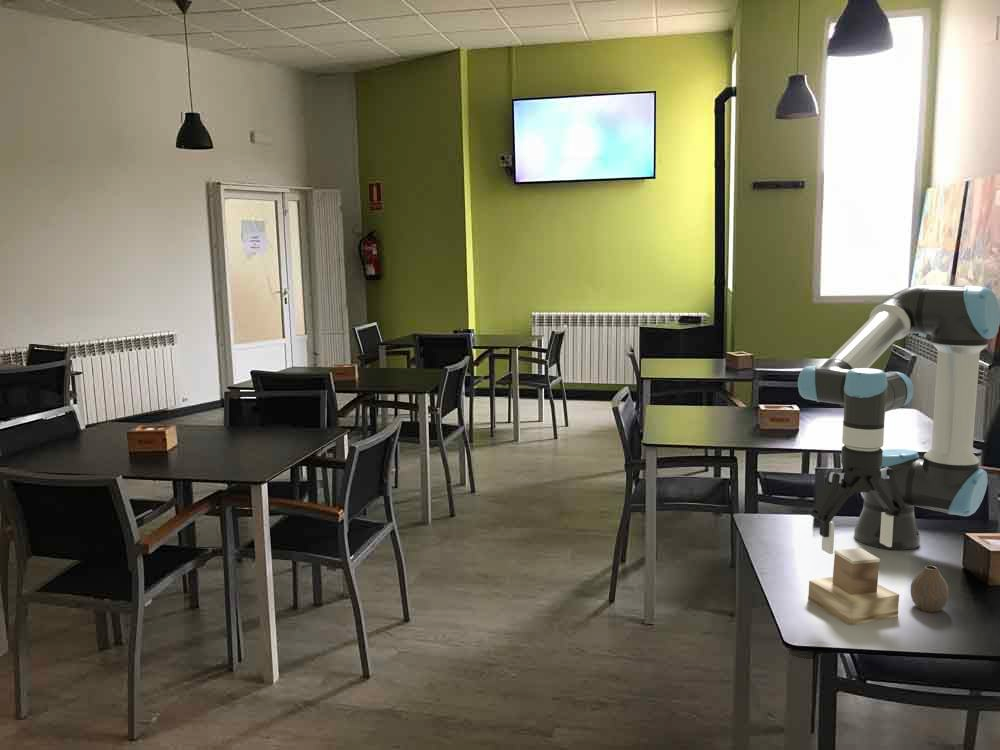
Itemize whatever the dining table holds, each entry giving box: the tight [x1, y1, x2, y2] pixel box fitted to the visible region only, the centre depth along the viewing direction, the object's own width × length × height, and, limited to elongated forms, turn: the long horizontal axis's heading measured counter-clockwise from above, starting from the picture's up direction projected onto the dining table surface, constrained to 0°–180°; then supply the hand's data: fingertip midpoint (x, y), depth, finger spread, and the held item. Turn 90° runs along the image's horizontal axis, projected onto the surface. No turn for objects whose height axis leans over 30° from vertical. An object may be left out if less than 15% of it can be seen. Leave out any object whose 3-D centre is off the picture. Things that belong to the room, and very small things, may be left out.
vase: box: [910, 564, 950, 613], centre depth 171 cm, size 7×7×9 cm
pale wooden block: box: [832, 547, 881, 595], centre depth 170 cm, size 6×6×7 cm
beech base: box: [807, 576, 900, 626], centre depth 171 cm, size 12×12×5 cm
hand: (856, 548), depth 169 cm, fingers open, 13 cm apart
